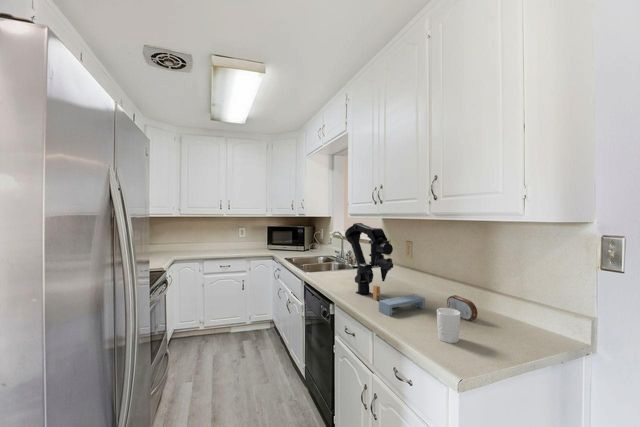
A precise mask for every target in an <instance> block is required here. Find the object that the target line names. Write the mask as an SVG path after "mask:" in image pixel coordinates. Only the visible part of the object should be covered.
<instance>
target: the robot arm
mask: <svg viewBox="0 0 640 427" xmlns="http://www.w3.org/2000/svg"><path fill="white" fill-rule="evenodd" d="M362 233H363V234H364V235H367V238H368V239H370V240H369V241H368V244H370V253H369V254H368V256H369V257H370V261H369V263H367V262H366V261H367V260H366V258H365V255H364V253H363V249H362V247H361V243H360V240H361V234H362ZM344 236H345V238H346V241H347V242H348V243H349V244H350V245H351V248H352V251H353V255H354V258H355V261H356V264H357V270H356V275H355V277H354V282H355V283H356V284H357V291H355V294H356V293H357V294H359V295H360V296H366V295H371V294H372V292H370V284H371V283H373V280H374V271H373V269H375V268H380V274H381V280H382V282H385V281H386V278H387V275H388V272H389V271H391V270H392V269H393V268H394V263H393V259H392V258H391V257H389V258H385V256H384V255H386V256H390V255H391V254H392V253H393V252H394V248H393V246H392V244H391V243H390V241H389V239H388V237H387V236H386V234H385V232H384V229H383V228H381V227H371V226H369V225H365V223H361V222H354V223H353V224H352V225H351V226H350V227H348V228H347V229H346V230H345V233H344Z"/></svg>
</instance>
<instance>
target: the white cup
mask: <svg viewBox="0 0 640 427" xmlns="http://www.w3.org/2000/svg"><path fill="white" fill-rule="evenodd" d="M460 314H461V313H460V312H459V311H457V310H455V309H451V308H448V307H440V308H437V309H436V325H437V326H436V327H437V337H438V339H439V341H442V342H444V343H449V344H455V343H458V342H459V339H460V338H459V337H460V331H461V330H460V329H461V328H460V327H461V318H460Z"/></svg>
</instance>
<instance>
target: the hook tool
mask: <svg viewBox="0 0 640 427" xmlns="http://www.w3.org/2000/svg"><path fill="white" fill-rule="evenodd" d="M385 299H387V298H386V297H383V296H381V286H379V285H373V286H372V300H374V301H378V302H379V301H380V300H385ZM397 308H398V307H394V308H392V310H393V309H397Z"/></svg>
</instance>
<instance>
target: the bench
mask: <svg viewBox="0 0 640 427" xmlns="http://www.w3.org/2000/svg"><path fill="white" fill-rule="evenodd" d="M425 300H426V298H425V297H424V296H420V295H418V294H415V293H414V294H413V293H412V294H408V295H402V296H398V297H397V296H396V297H392V298H386V299H385V300H378V312H379V313H381V314H384V315H386V316H387V317H392V316H393V309H392V308H394V307H397V308H400V307H402V306H407V305H411V306H414V307H416V308H419V309H421V310H424V309H425V308H426V306H425V304H426V302H425ZM394 309H395V308H394Z"/></svg>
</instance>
